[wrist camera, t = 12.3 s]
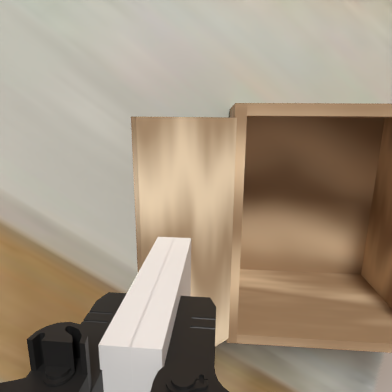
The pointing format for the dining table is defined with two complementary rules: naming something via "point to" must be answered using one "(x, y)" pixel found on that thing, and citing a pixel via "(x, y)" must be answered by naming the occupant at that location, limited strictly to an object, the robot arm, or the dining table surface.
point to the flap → (188, 197)
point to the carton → (312, 226)
